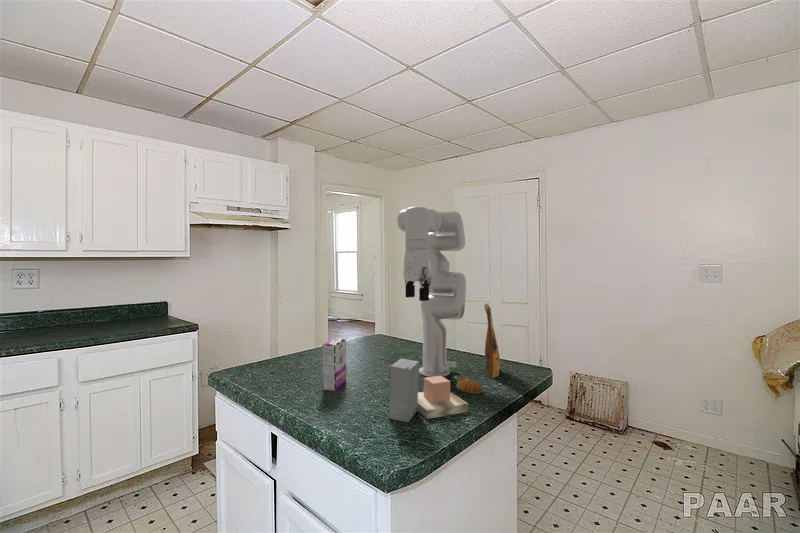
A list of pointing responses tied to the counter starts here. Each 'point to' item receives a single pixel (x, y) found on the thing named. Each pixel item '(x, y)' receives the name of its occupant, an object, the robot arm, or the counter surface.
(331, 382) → the candy bar box
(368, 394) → the counter surface
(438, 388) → the terracotta cube
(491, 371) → the pancake mix bag
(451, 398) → the birch board
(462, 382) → the pastry
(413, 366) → the skincare box
